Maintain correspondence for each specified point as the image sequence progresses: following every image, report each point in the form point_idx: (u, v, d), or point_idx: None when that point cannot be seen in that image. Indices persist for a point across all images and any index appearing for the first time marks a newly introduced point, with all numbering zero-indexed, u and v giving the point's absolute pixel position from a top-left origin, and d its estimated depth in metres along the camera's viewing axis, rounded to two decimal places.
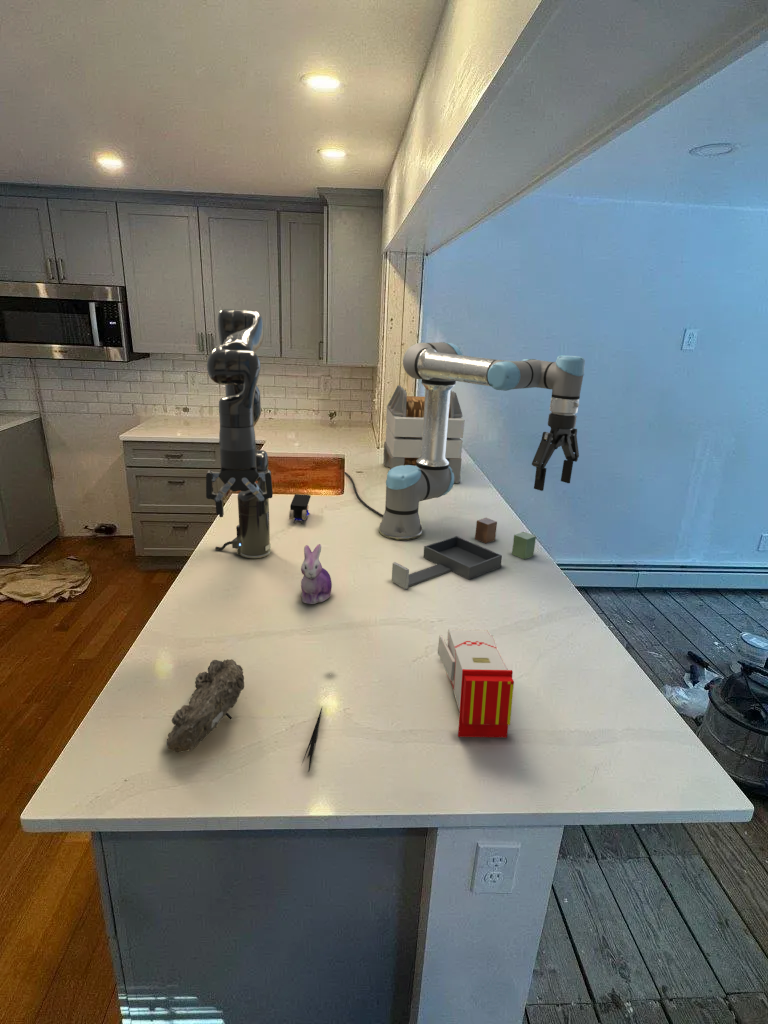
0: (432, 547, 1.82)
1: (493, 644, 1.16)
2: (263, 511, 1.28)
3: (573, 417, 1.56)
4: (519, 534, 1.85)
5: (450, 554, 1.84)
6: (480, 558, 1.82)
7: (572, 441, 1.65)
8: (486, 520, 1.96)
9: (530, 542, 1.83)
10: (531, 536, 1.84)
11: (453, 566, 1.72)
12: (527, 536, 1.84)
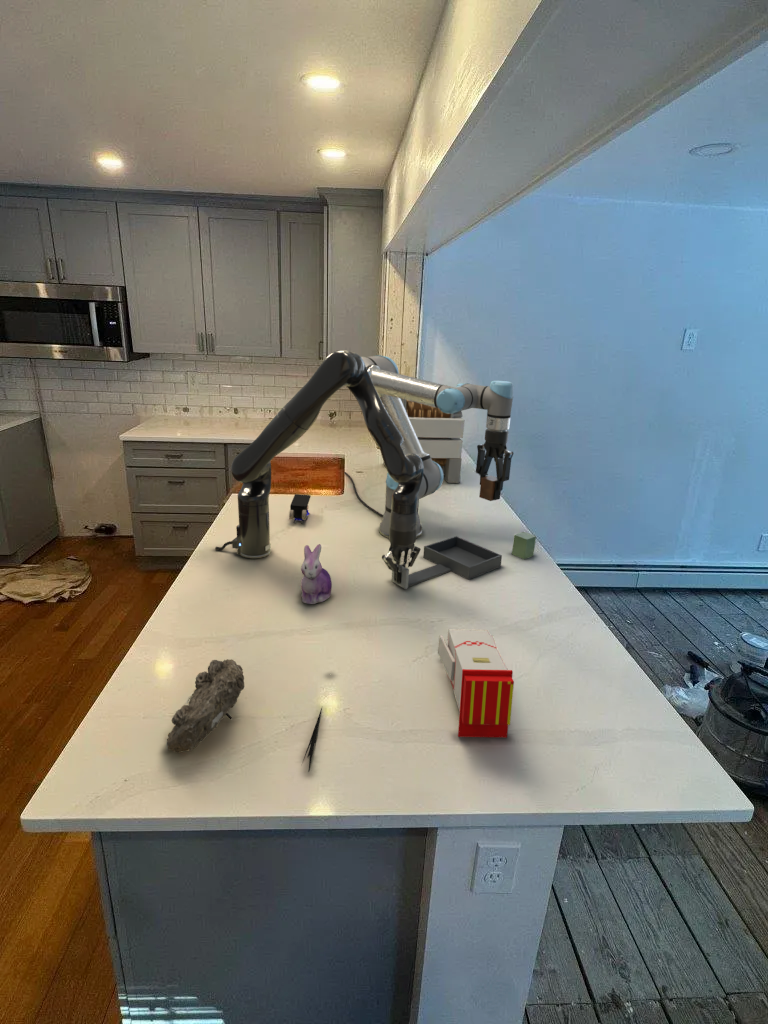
0: (432, 547, 1.82)
1: (493, 644, 1.16)
2: None
3: (489, 432, 1.83)
4: (519, 534, 1.85)
5: (450, 554, 1.84)
6: (480, 558, 1.82)
7: None
8: (491, 477, 1.91)
9: (530, 542, 1.83)
10: (531, 536, 1.84)
11: (453, 566, 1.72)
12: (527, 536, 1.84)
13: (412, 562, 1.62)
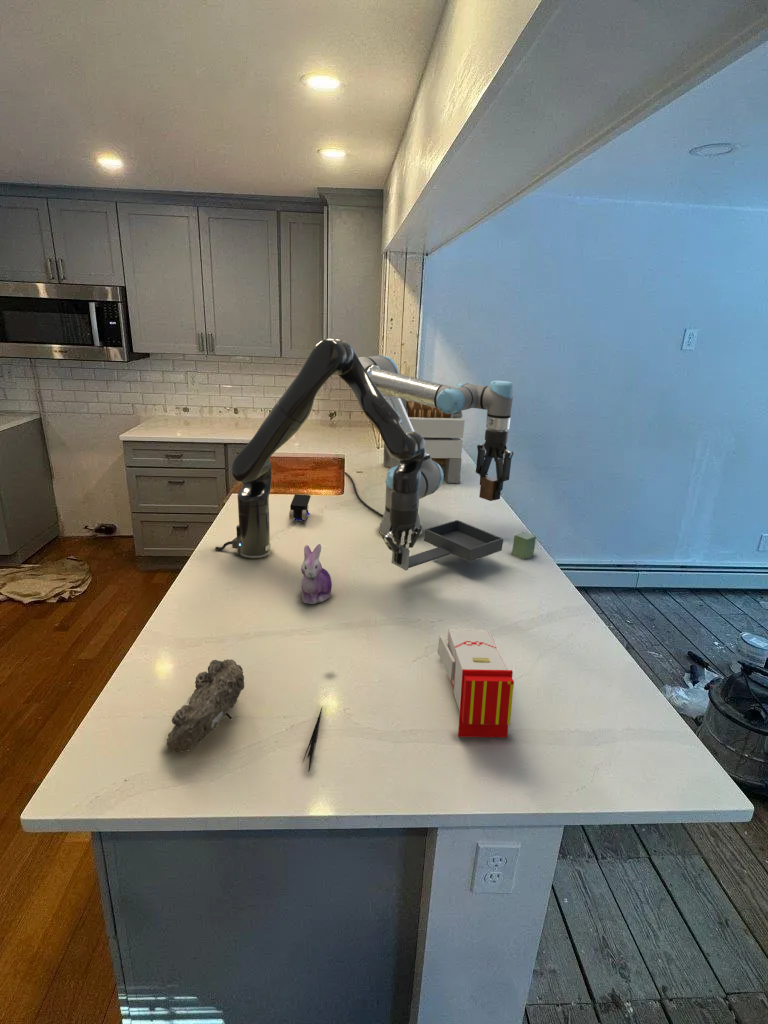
0: (432, 530, 1.80)
1: (493, 644, 1.16)
2: None
3: (489, 432, 1.83)
4: (519, 534, 1.85)
5: (451, 537, 1.82)
6: (481, 542, 1.80)
7: None
8: (491, 477, 1.91)
9: (530, 542, 1.83)
10: (531, 536, 1.84)
11: (454, 549, 1.70)
12: (527, 536, 1.84)
13: (413, 543, 1.60)
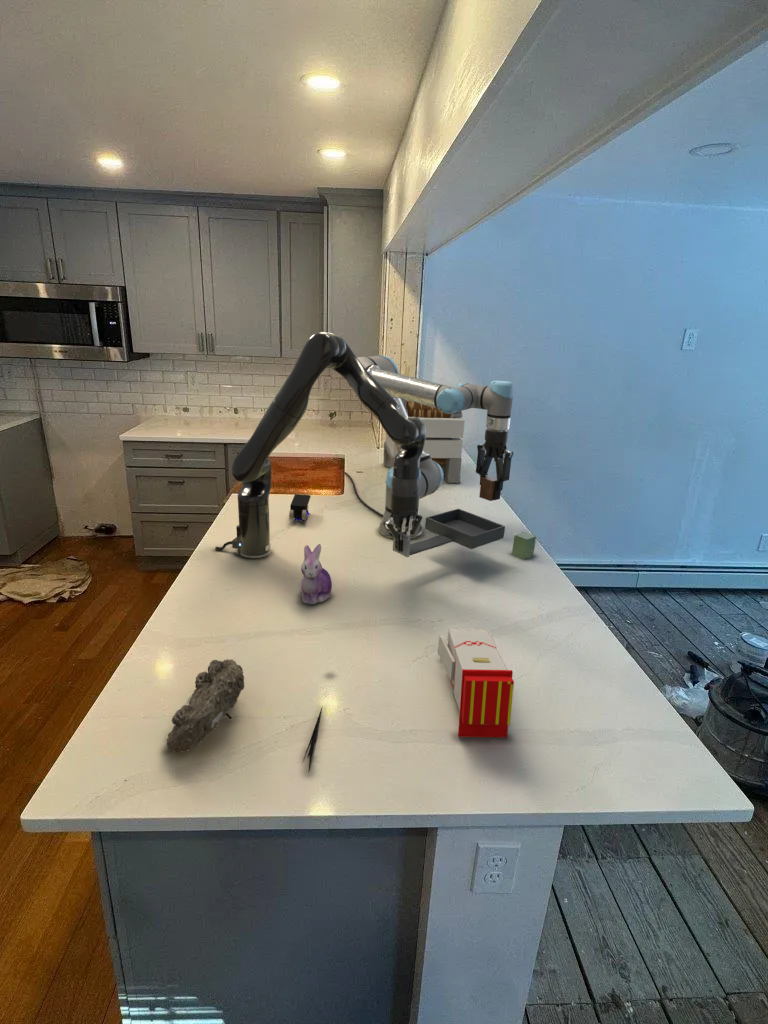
0: (434, 518, 1.79)
1: (493, 644, 1.16)
2: None
3: (489, 432, 1.83)
4: (519, 534, 1.85)
5: (452, 526, 1.80)
6: (482, 530, 1.78)
7: None
8: (491, 477, 1.91)
9: (530, 542, 1.83)
10: (531, 536, 1.84)
11: (455, 536, 1.69)
12: (527, 536, 1.84)
13: (414, 530, 1.59)
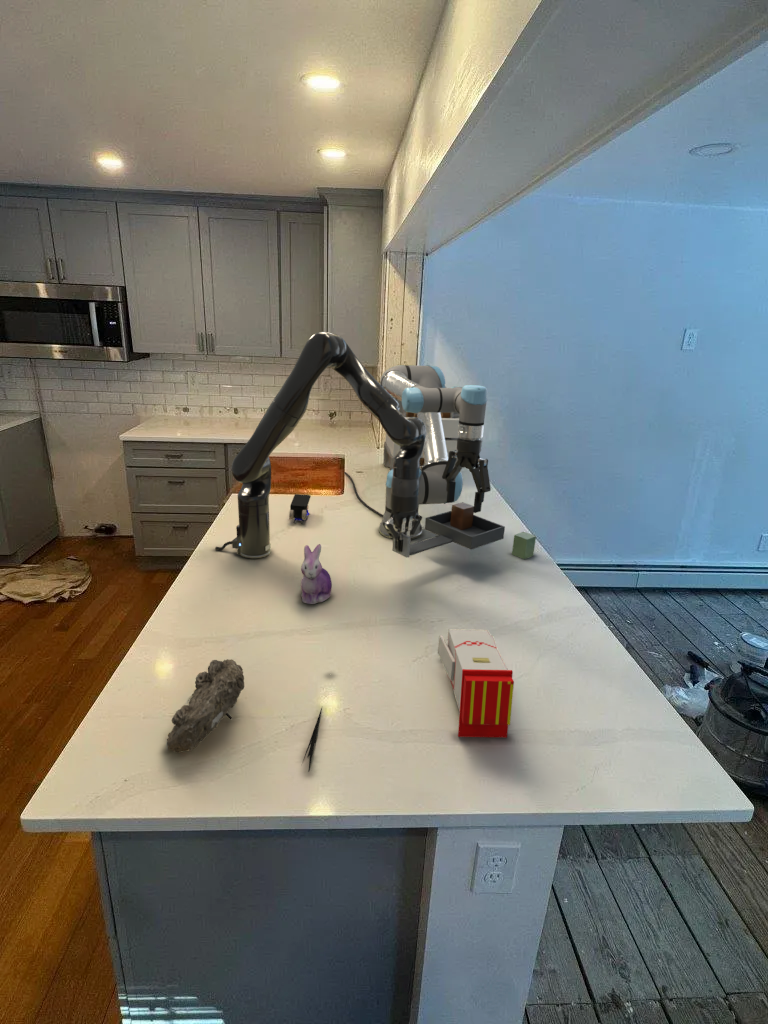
0: (433, 519, 1.79)
1: (493, 644, 1.16)
2: None
3: (461, 441, 1.69)
4: (519, 534, 1.85)
5: (452, 526, 1.80)
6: (482, 530, 1.78)
7: None
8: (462, 505, 1.79)
9: (530, 542, 1.83)
10: (531, 536, 1.84)
11: (455, 536, 1.69)
12: (527, 536, 1.84)
13: (414, 530, 1.59)
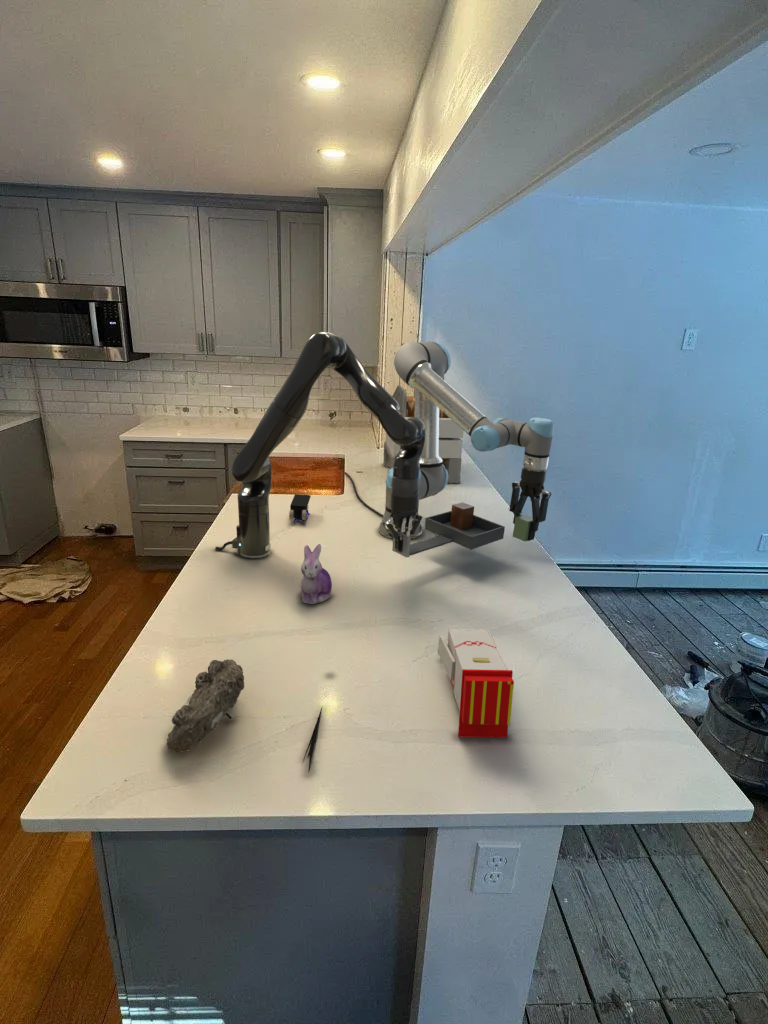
0: (433, 519, 1.79)
1: (493, 644, 1.16)
2: None
3: (527, 471, 1.75)
4: (520, 516, 1.83)
5: (452, 526, 1.80)
6: (482, 530, 1.78)
7: None
8: (462, 505, 1.79)
9: None
10: (532, 518, 1.82)
11: (455, 536, 1.69)
12: (528, 518, 1.82)
13: (414, 530, 1.59)
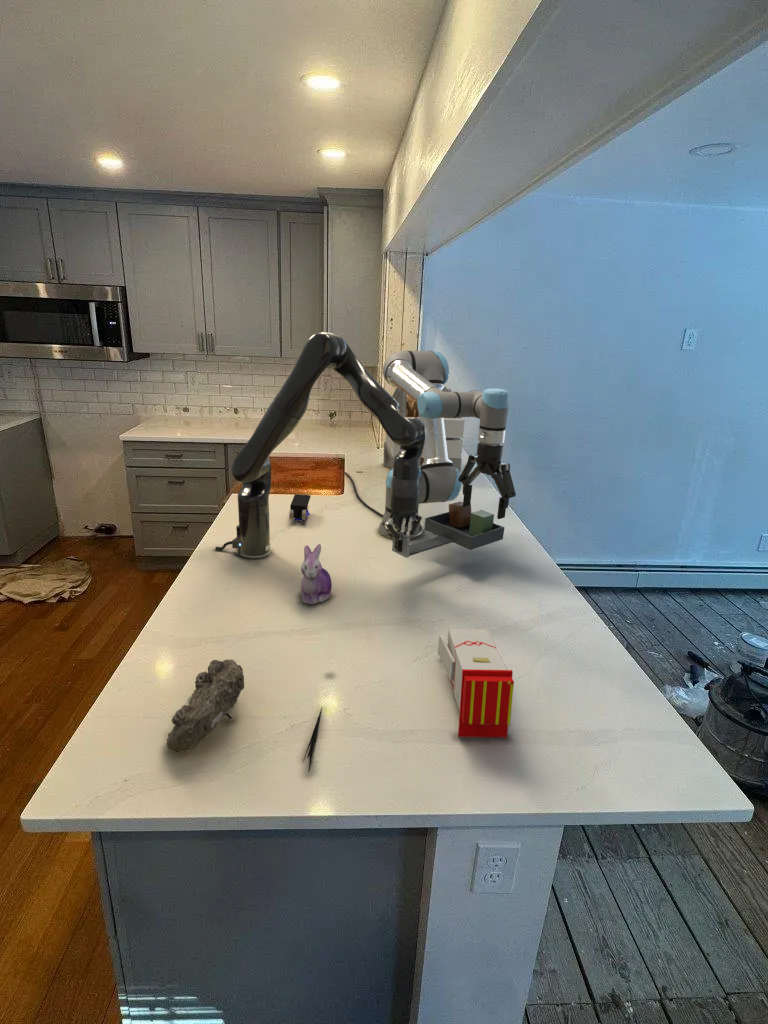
0: (433, 519, 1.79)
1: (493, 644, 1.16)
2: None
3: (482, 446, 1.63)
4: (476, 512, 1.74)
5: (451, 527, 1.80)
6: None
7: None
8: (459, 503, 1.80)
9: (488, 520, 1.72)
10: (489, 514, 1.72)
11: (455, 537, 1.69)
12: (484, 514, 1.72)
13: (413, 530, 1.59)
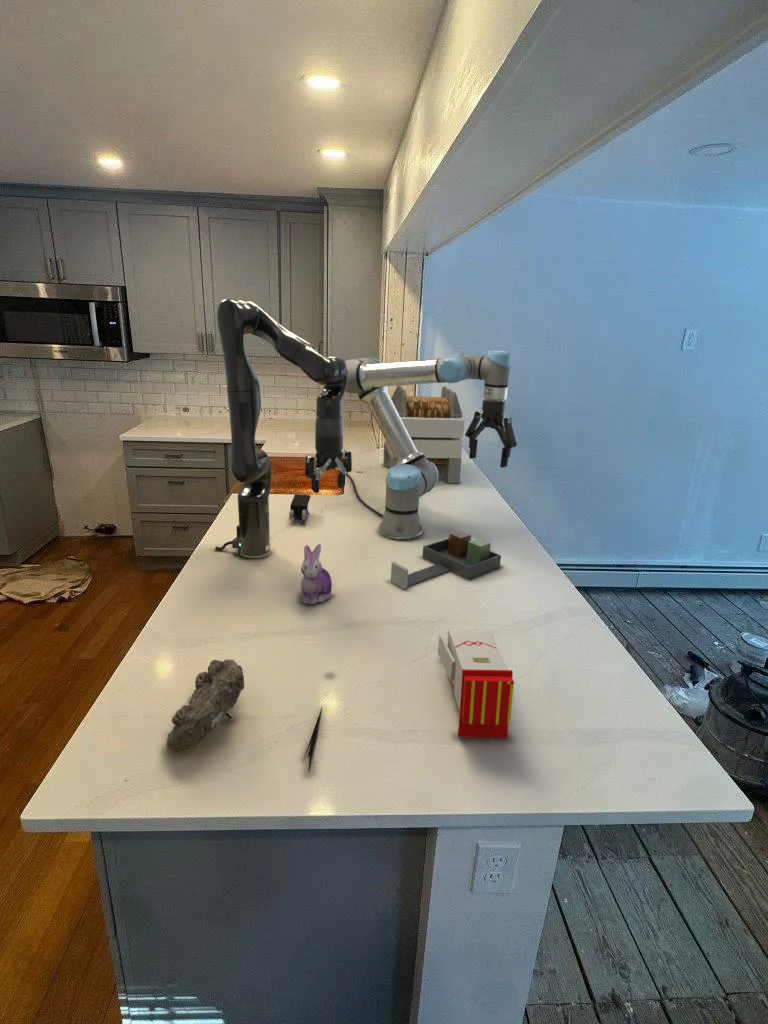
0: (431, 547, 1.82)
1: (493, 644, 1.16)
2: None
3: (487, 402, 1.84)
4: (473, 541, 1.77)
5: (449, 554, 1.83)
6: None
7: None
8: (459, 533, 1.82)
9: (485, 549, 1.75)
10: (486, 543, 1.76)
11: (452, 566, 1.72)
12: (481, 543, 1.75)
13: (349, 467, 1.60)
